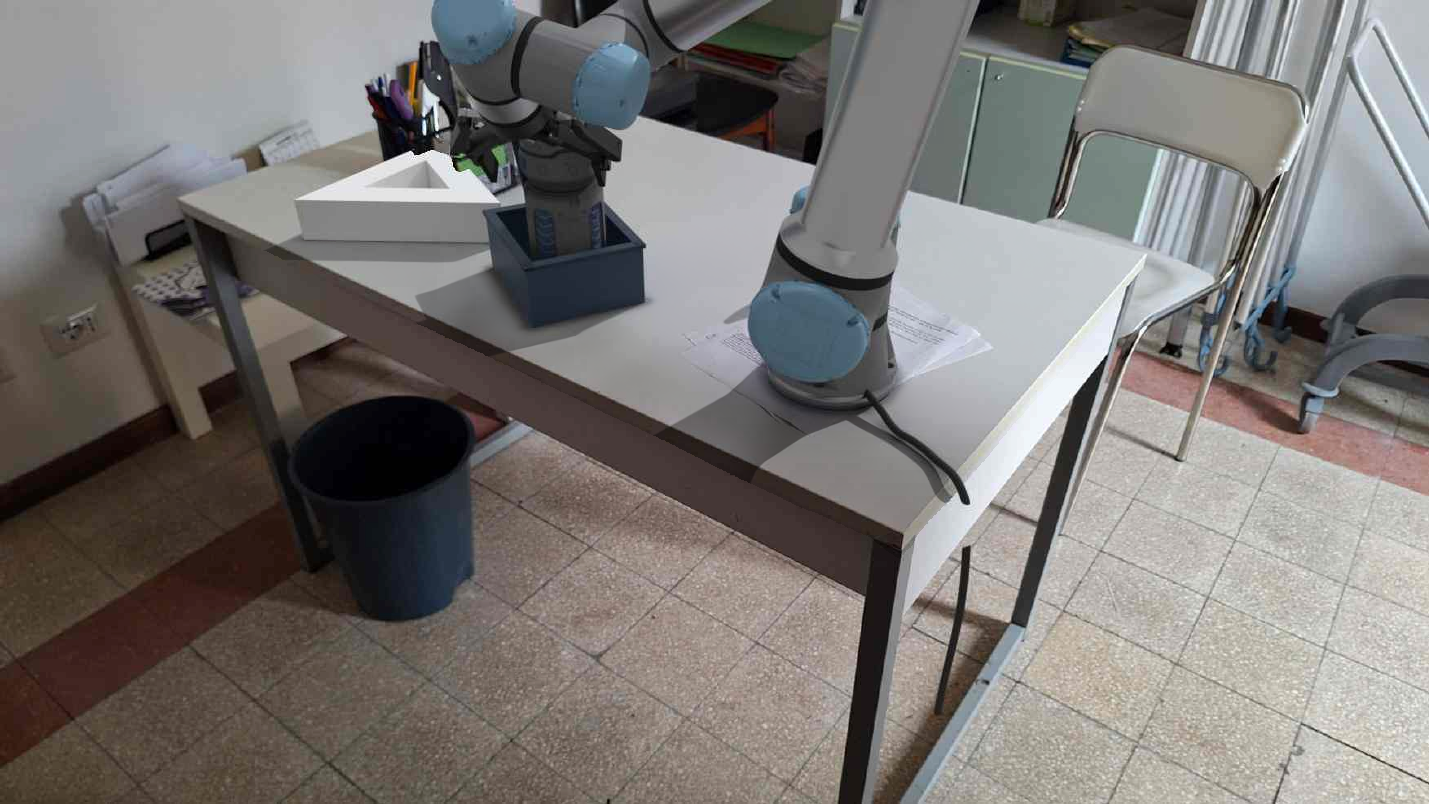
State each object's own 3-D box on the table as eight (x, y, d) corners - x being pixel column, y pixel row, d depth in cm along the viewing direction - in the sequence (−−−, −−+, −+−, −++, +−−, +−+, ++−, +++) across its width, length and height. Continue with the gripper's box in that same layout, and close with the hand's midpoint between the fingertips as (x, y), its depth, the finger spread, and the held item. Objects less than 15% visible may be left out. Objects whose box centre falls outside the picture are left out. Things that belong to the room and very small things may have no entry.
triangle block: (446, 174, 168) (440, 138, 164) (568, 207, 157) (564, 169, 153) (303, 239, 147) (293, 199, 143) (433, 283, 136) (425, 241, 132)
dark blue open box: (648, 302, 132) (646, 244, 127) (531, 329, 126) (524, 268, 121) (597, 245, 146) (593, 190, 141) (489, 266, 140) (482, 210, 135)
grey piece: (548, 259, 142) (531, 84, 128) (627, 279, 137) (618, 100, 123) (505, 288, 135) (481, 107, 120) (586, 311, 130) (572, 125, 115)
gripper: (630, 62, 102) (650, 149, 123) (393, 54, 103) (453, 142, 124) (625, 130, 101) (646, 206, 122) (386, 121, 102) (447, 199, 123)
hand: (549, 174), depth 123 cm, fingers open, 13 cm apart
